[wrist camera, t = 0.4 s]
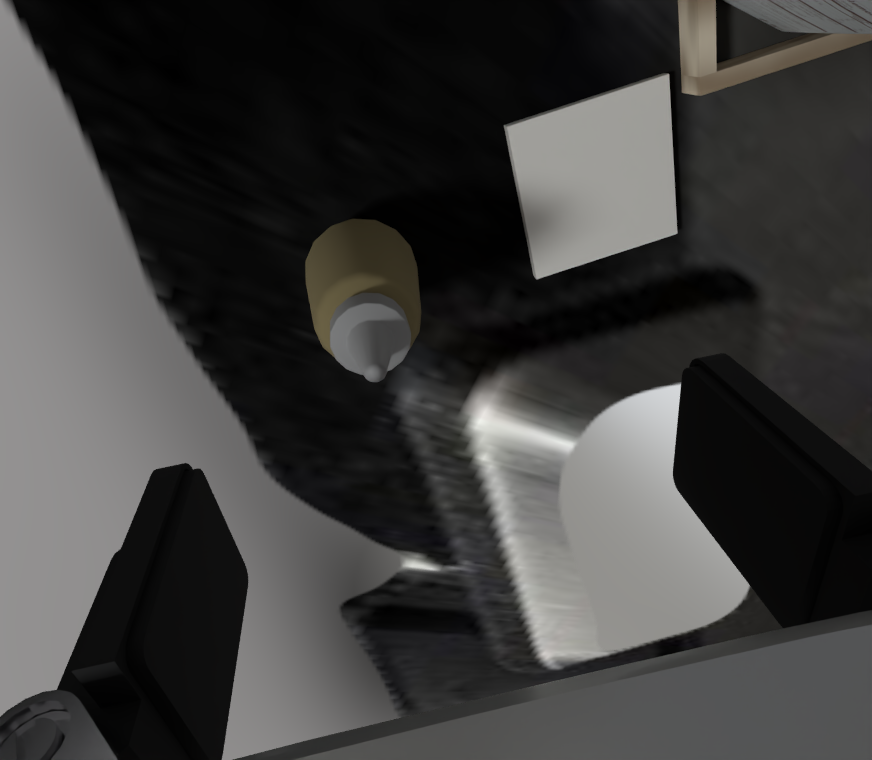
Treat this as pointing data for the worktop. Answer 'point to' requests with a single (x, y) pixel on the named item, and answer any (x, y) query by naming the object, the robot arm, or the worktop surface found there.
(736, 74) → the wooden frame
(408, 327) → the squeeze bottle
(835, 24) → the supplement box
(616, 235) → the tile
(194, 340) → the worktop surface
